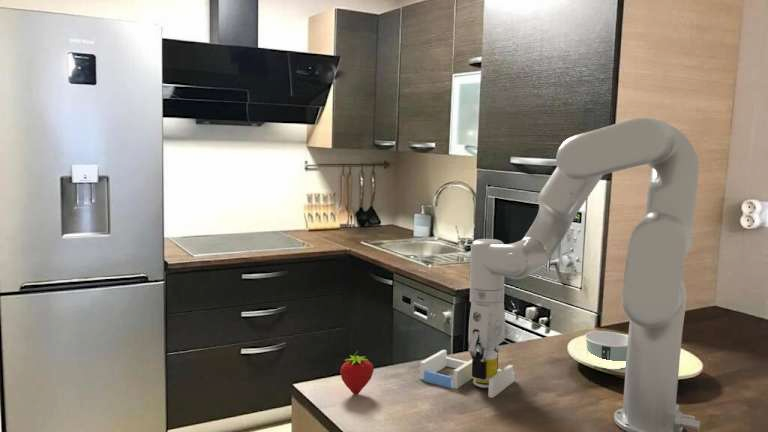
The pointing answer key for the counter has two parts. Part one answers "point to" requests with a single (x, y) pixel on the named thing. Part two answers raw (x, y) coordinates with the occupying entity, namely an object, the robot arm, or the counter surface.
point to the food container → (607, 345)
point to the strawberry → (356, 373)
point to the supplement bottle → (487, 367)
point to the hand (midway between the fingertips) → (485, 373)
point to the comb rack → (461, 373)
